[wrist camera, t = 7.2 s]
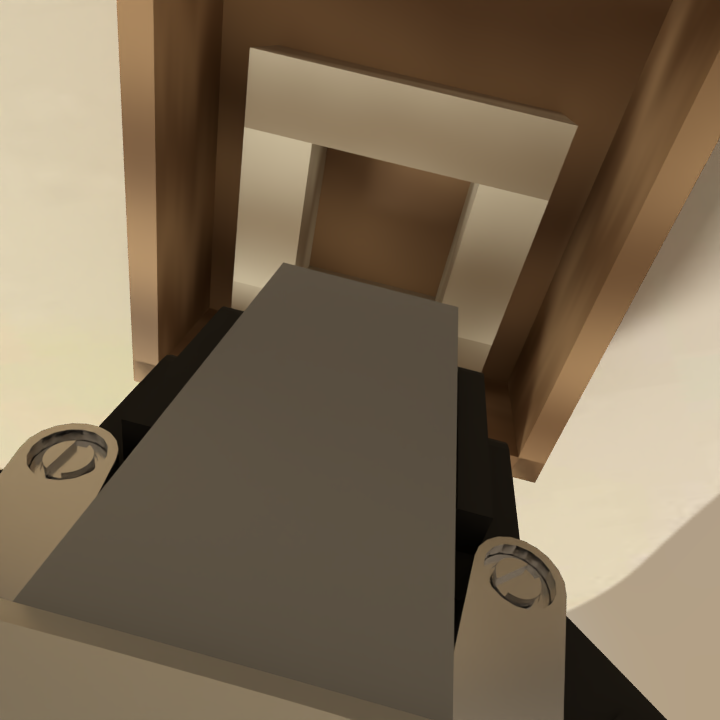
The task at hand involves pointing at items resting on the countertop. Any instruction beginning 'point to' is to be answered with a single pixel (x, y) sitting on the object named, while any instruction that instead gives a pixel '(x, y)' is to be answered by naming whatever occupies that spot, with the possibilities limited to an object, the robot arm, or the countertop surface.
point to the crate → (418, 169)
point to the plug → (292, 501)
